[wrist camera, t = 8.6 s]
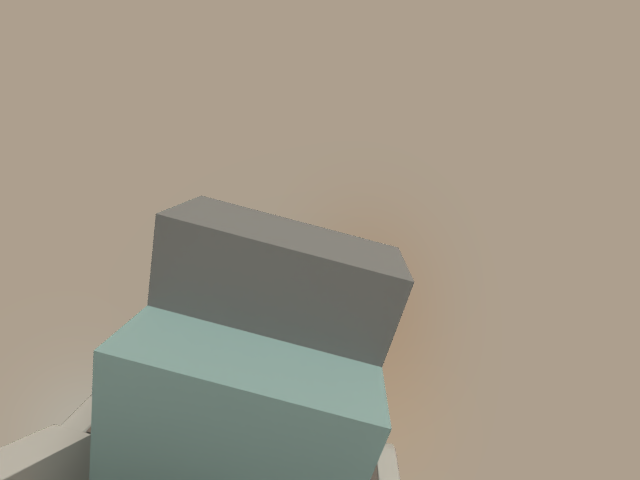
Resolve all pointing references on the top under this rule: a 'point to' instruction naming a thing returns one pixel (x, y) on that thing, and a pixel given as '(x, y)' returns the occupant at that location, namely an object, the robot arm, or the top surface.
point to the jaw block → (250, 353)
